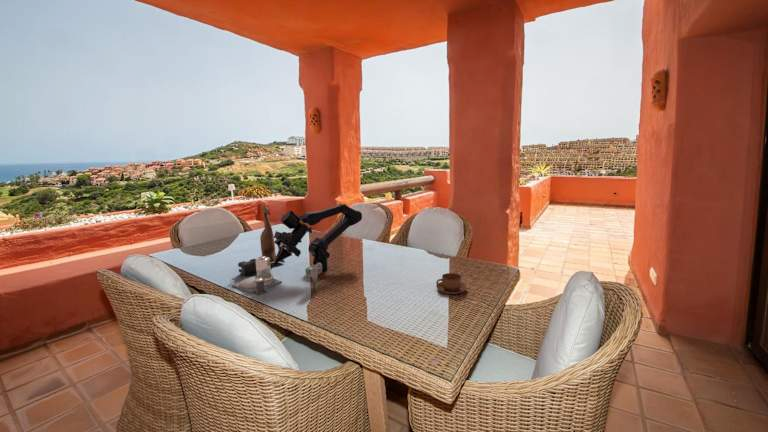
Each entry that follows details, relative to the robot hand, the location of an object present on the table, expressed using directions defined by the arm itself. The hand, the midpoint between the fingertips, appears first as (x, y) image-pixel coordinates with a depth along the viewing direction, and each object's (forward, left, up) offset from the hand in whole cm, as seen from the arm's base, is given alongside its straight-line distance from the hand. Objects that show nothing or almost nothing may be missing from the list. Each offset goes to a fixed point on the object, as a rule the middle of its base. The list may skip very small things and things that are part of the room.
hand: (275, 262), depth 156 cm
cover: (+4, +3, -7) cm, 9 cm away
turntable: (+7, +5, -8) cm, 12 cm away
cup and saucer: (-76, +18, -9) cm, 79 cm away
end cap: (+15, -10, -9) cm, 20 cm away
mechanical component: (-20, +12, -8) cm, 25 cm away
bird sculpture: (+11, -24, -8) cm, 28 cm away
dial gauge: (+2, +15, -8) cm, 17 cm away
